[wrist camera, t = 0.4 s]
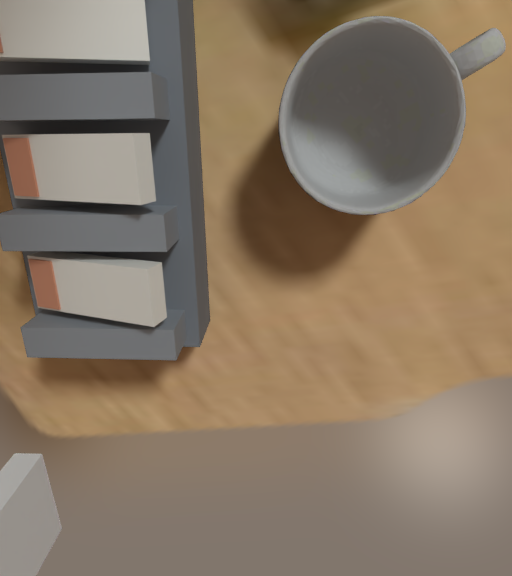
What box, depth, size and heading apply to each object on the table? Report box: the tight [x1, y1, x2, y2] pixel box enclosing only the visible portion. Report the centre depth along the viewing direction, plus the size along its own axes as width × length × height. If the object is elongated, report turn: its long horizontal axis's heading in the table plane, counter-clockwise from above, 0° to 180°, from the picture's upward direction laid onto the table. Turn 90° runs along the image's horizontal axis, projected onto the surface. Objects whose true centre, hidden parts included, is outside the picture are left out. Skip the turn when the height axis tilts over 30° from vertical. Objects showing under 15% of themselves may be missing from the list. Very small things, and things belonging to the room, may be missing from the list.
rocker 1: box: [0, 0, 150, 65], centre depth 23 cm, size 4×10×2 cm, turn 91°
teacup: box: [279, 16, 505, 215], centre depth 27 cm, size 14×11×8 cm
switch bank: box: [0, 0, 210, 360], centre depth 29 cm, size 28×13×8 cm, turn 1°
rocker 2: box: [2, 133, 156, 205], centre depth 26 cm, size 4×10×2 cm, turn 91°
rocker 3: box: [27, 251, 167, 327], centre depth 29 cm, size 4×10×2 cm, turn 91°
